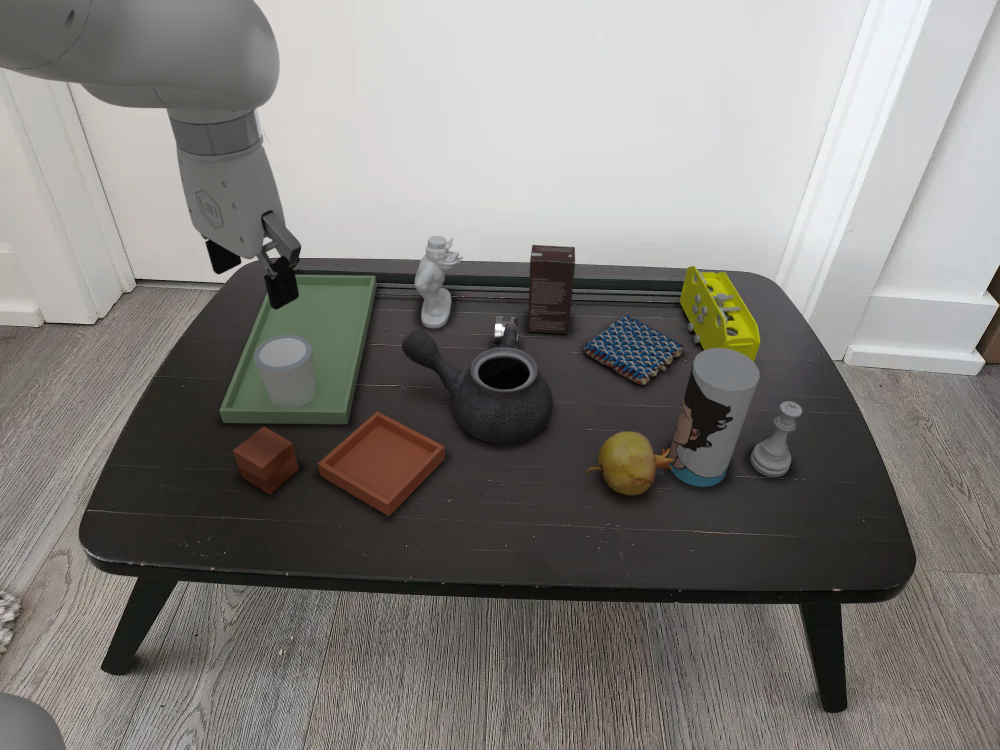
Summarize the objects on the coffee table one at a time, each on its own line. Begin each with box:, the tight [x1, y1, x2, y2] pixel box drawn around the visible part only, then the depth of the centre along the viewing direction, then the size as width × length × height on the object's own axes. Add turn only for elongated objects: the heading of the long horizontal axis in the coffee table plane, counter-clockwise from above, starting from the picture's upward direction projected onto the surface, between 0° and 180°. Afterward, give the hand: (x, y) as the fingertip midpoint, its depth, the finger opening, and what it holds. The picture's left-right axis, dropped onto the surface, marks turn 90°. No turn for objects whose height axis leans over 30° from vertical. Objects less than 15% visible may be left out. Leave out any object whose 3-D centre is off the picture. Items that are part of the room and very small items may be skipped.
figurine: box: [414, 235, 464, 329], centre depth 102 cm, size 9×7×12 cm
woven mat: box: [583, 314, 684, 386], centre depth 99 cm, size 10×11×2 cm
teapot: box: [401, 324, 554, 444], centre depth 88 cm, size 19×15×10 cm
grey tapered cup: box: [253, 335, 315, 409], centre depth 89 cm, size 7×7×7 cm
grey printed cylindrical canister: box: [667, 348, 761, 488], centre depth 80 cm, size 7×7×15 cm
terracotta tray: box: [317, 410, 446, 517], centre depth 83 cm, size 10×10×2 cm
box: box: [527, 244, 576, 335], centre depth 100 cm, size 6×4×12 cm
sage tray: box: [219, 274, 378, 425], centre depth 99 cm, size 29×15×2 cm, turn 0°
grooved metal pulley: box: [493, 315, 519, 348], centre depth 98 cm, size 5×3×5 cm, turn 175°
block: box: [232, 426, 300, 495], centre depth 81 cm, size 4×4×4 cm
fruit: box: [584, 430, 675, 496], centre depth 80 cm, size 7×7×10 cm
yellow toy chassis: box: [679, 265, 761, 363], centre depth 100 cm, size 16×6×8 cm, turn 7°
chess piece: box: [749, 400, 803, 478], centre depth 82 cm, size 4×4×10 cm
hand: (256, 285), depth 77 cm, fingers open, 9 cm apart
